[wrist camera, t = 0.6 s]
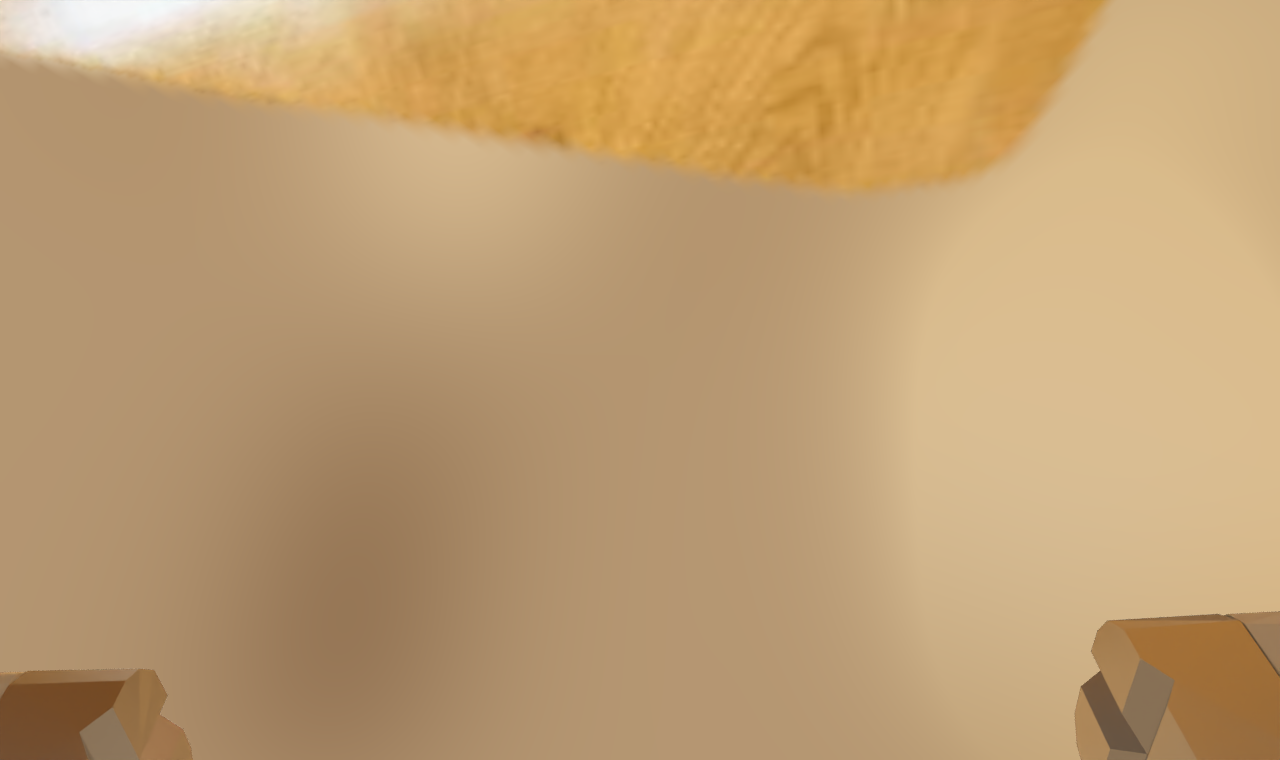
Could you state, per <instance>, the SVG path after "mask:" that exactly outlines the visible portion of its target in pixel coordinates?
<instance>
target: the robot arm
mask: <svg viewBox="0 0 1280 760" xmlns="http://www.w3.org/2000/svg"><path fill="white" fill-rule="evenodd" d="M1091 652H1092V654H1093V656H1094V658H1095V660H1096V662H1097V664H1098V666H1099V668H1100V671H1099V672H1098V673H1097V674H1096V675H1094V676H1093V677H1092V678H1091V679H1090V680H1089V681H1087V682H1086V683H1085V684H1083V685H1082V686H1081V688H1080V692H1079V697H1078V701H1077V705H1076V710H1075V725H1076V741H1077V747H1078V751H1079V754H1080V758H1081V760H1280V611H1279V612H1259V613H1240V614H1227V615H1220V614H1210V615H1194V616H1193V615H1192V616H1175V617H1159V618H1142V619H1126V620H1109V621H1106V622H1105V624H1104V625H1103V626H1102V627H1101V628H1100V629H1099V630H1098V631H1097V634H1096V637H1095V640H1094V643H1093V647H1092V650H1091ZM167 696H168V695H167V693H166V691H165V689H164V687H163V685H162V683H161V681H160V679H159V678H158V676H157V674H156V672H155V670H150V669H101V670H100V669H96V670H50V671H27V672H0V760H193V758H192V750H191V746H190V744H189V742H188V739H187V737H186V735H185V732H184V730H183V729H182V728H181V727H179V726H177V725H176V724H174V723H173V722H171V721H170V720H168V719H167V718H165V717H163V716H162V715H160V712H161V710H162V708H163V705H164V703H165V701H166V698H167Z"/></svg>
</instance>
